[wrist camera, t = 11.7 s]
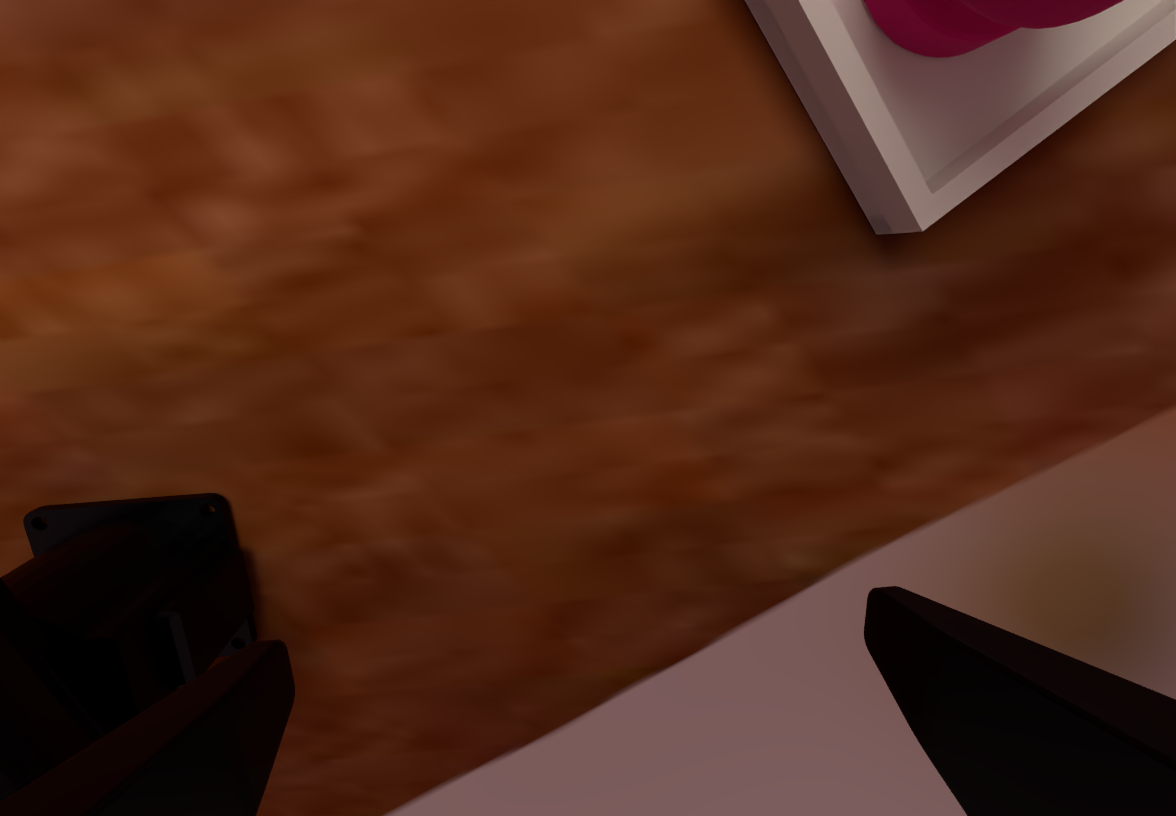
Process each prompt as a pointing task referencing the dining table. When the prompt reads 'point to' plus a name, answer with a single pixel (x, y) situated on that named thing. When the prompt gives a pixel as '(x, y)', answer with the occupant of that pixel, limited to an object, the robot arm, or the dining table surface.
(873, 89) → the tray
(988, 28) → the pepper mill
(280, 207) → the dining table surface
